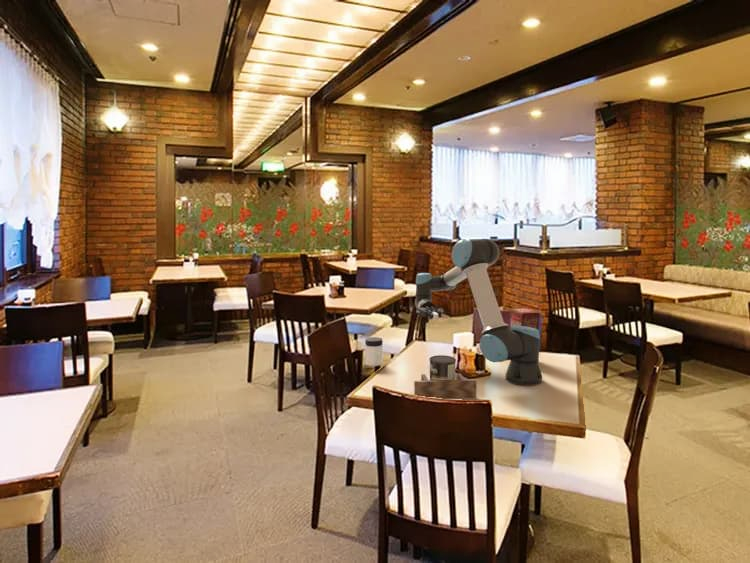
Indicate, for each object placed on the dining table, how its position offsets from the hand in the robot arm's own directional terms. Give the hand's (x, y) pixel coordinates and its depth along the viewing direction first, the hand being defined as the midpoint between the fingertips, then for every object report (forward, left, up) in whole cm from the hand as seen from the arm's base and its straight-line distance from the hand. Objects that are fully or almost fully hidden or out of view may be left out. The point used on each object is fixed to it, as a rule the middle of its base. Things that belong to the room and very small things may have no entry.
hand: (436, 317), depth 231 cm
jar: (+26, -20, -26) cm, 42 cm away
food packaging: (-46, -18, -26) cm, 56 cm away
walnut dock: (+2, +25, -26) cm, 36 cm away
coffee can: (+2, +23, -26) cm, 35 cm away
